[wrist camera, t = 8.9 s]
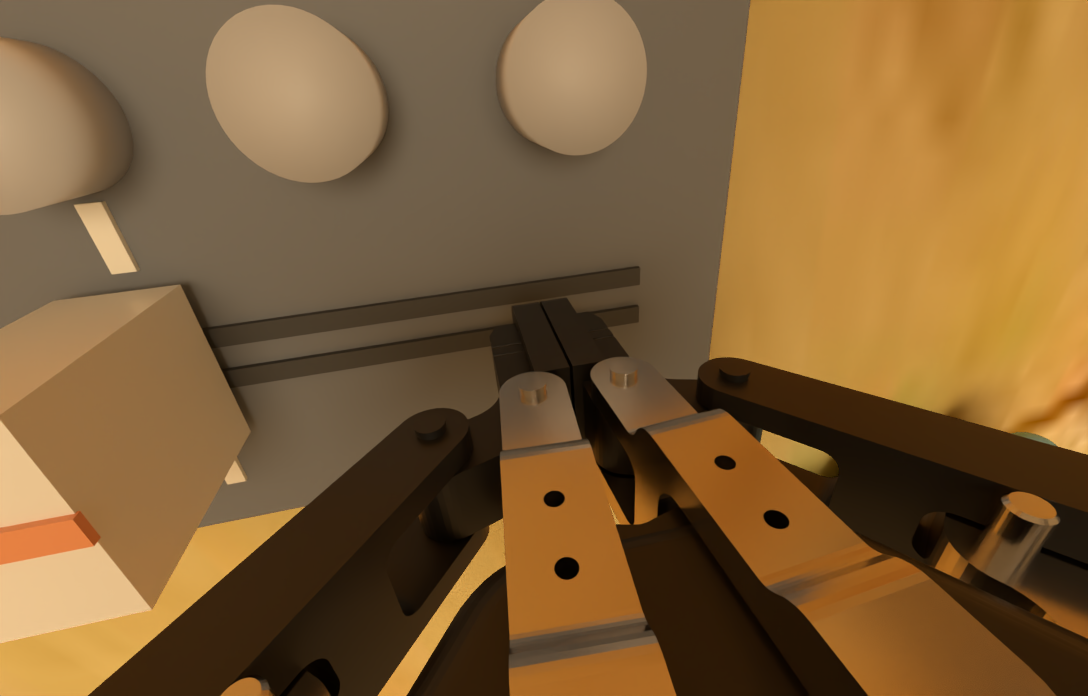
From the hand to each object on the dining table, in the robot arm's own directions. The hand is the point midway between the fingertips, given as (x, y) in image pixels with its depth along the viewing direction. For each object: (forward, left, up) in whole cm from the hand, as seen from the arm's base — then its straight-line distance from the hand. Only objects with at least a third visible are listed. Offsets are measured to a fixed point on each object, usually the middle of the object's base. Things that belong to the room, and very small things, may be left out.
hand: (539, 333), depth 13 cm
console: (+6, -1, -5) cm, 7 cm away
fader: (+11, +1, -2) cm, 11 cm away
